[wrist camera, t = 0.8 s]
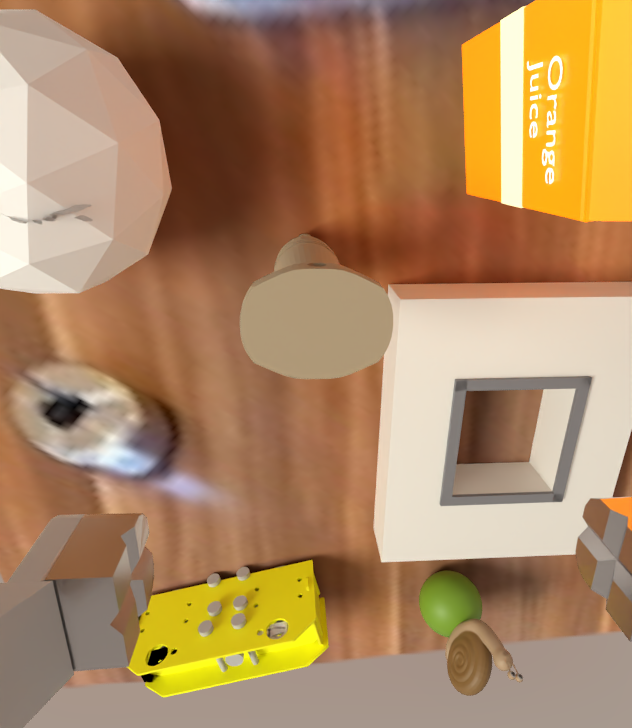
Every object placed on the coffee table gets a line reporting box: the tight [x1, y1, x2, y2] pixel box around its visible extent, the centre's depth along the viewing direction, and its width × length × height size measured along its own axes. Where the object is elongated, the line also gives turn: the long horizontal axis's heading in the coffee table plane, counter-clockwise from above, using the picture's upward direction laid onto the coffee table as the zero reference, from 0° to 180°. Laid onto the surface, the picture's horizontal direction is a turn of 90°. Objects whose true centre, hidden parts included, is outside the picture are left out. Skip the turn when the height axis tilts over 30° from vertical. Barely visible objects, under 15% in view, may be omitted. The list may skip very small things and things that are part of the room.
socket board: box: [374, 282, 632, 562], centre depth 39 cm, size 22×18×4 cm
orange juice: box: [462, 0, 632, 222], centre depth 23 cm, size 8×9×20 cm
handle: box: [240, 234, 393, 379], centre depth 28 cm, size 5×6×15 cm
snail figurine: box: [419, 571, 523, 696], centre depth 42 cm, size 5×6×12 cm
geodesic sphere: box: [0, 10, 172, 293], centre depth 25 cm, size 14×14×14 cm
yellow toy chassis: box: [127, 560, 329, 697], centre depth 43 cm, size 16×6×8 cm, turn 103°
